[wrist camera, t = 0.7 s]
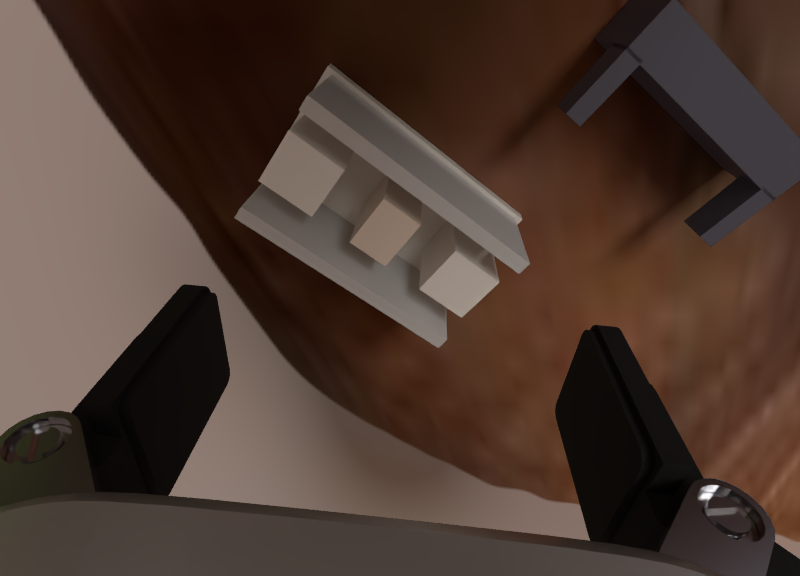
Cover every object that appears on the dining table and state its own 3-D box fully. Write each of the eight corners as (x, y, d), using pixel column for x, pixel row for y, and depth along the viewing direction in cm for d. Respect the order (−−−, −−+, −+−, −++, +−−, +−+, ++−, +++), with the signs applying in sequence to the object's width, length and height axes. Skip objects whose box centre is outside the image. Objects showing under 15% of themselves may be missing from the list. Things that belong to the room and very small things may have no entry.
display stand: (330, 63, 32) (302, 84, 25) (520, 214, 37) (538, 265, 30) (264, 174, 36) (225, 216, 30) (440, 294, 42) (440, 353, 35)
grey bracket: (632, -5, 29) (674, -3, 24) (762, 136, 33) (821, 163, 28) (545, 93, 32) (565, 113, 27) (672, 210, 36) (711, 246, 31)
